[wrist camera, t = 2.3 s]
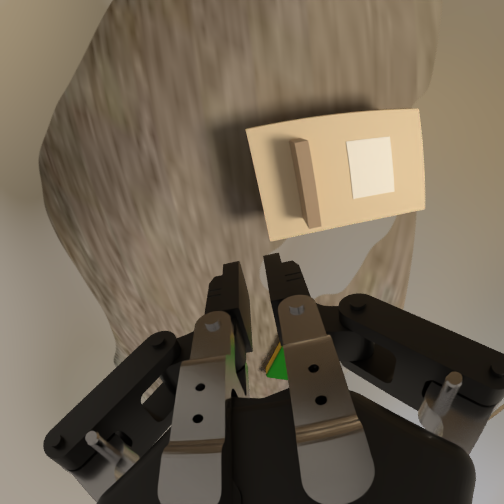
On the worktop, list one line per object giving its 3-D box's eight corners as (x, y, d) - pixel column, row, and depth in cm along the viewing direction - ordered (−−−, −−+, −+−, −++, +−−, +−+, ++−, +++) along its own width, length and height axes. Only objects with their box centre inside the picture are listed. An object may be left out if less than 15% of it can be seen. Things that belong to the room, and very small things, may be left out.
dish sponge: (264, 367, 49) (265, 377, 47) (294, 309, 44) (297, 319, 41) (300, 372, 50) (302, 382, 48) (334, 317, 45) (338, 327, 43)
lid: (245, 128, 27) (246, 130, 22) (407, 108, 26) (434, 109, 21) (268, 232, 32) (273, 254, 27) (414, 202, 31) (439, 218, 26)
